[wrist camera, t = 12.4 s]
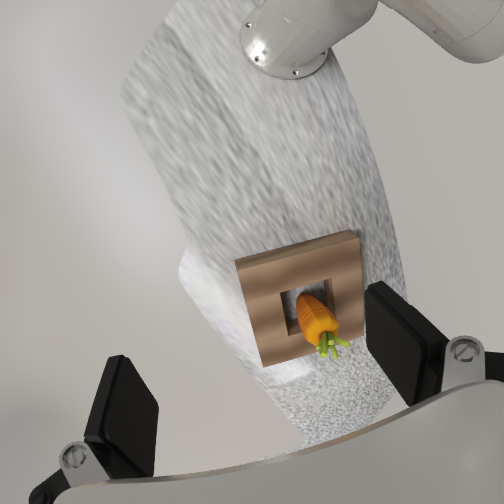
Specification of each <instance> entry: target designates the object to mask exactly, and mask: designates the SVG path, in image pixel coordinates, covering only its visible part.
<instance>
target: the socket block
mask: <svg viewBox="0 0 504 504" xmlns="http://www.w3.org/2000/svg"><path fill="white" fill-rule="evenodd" d="M234 261H235V265H236V269H237V272H238V276H239V280H240V284H241V287H242V291H243V295H244V299H245V302H246V306H247V310H248V314H249V317H250V321H251V325H252V328H253V332H254V336H255V339H256V343H257V347H258V350H259V354H260V357H261V361H262V364H263V368H264V367H267V366H271V365H274V364H278V363H282V362H285V361H288V360H292V359H295V358H298V357H302V356H305V355H308V354H311V353H314V352H318V351H320V350H316V348H317V347H316V346H315V345H313V344H311V343H310V342H308V341H307V340H306V339H305V337H304V335H303V333H302V330H301V328H300V325H299V323H298V318H297V319H293V320H290V321H287V322H285V317H284V312H283V307H282V302H281V297H280V293H281V292H284V291H288V290H291V289H295V288H298V287H302V286H305V285H309V284H312V283H316V282H319V281H322V280H324V285H325V293H326V302H327V308H328V309H329V310H330V312H331V313H332V314H333V315H334V316H335V318H336V319H337V320H338V322H339V328H338V335H337V336H336V337H338V338H340V339H342V340H344V341H350V340H353V339H355V338H358V337H361V336H364V307H363V283H362V267H361V253H360V241H359V237H357V236H356V235H354V234H353V233H351V232H350V231H348V230H346V231H342V232H338V233H335V234H331V235H327V236H323V237H319V238H316V239H312V240H308V241H304V242H301V243H297V244H293V245H289V246H285V247H282V248H278V249H274V250H270V251H266V252H263V253H259V254H255V255H251V256H247V257H243V258H240V259H236V260H234ZM333 344H334V346H336V345H338V344H339V343H337V342H336V341H334V343H333Z"/></svg>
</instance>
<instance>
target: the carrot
mask: <svg viewBox="0 0 504 504" xmlns="http://www.w3.org/2000/svg"><path fill="white" fill-rule="evenodd" d="M296 311H297V318H298V323H299V325H300V328H301V330H302V333H303V335H304V337H305V339H306V340H307V341H308V342H310V343H311V344H313V345H315V346H316V347H317V348H316V350H320V356H321V357H323V358H325V357H326V356H327V352H328V348H331V351H332V354H333V357H334V359H337V357H338V353H337V351H336V348H335V346H334V344H333V343H334V341H336V342H337V343H339V344H340V345H343V346H345V347H349V346H350V343H349V342H347V341H344V340H342V339H340V338H338V337H336V336H337V335H338V328H339V322H338V320H337V319H336V318H335V316H334V315H333V314H332V313H331V312H330V310H329V309H328V308H327V307H326V306H325V305H323V304H322V303H321V302H320V301H318V300H317V299H316V298H314V297H313V296H312V295H309V294H300V295H299V296H298V298H297V302H296Z"/></svg>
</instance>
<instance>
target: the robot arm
mask: <svg viewBox="0 0 504 504" xmlns="http://www.w3.org/2000/svg"><path fill="white" fill-rule="evenodd" d="M378 1H380V2H382V3H383V4H385V5H386V6H388V7H389V8H391V9H394V10H395V11H396V12H398V13H399V14H400V15H402V16H403V17H405V18H406V19H407V20H409V21H410V22H411V23H413V24H414V25H415V26H417V27H418V28H419V29H420V30H422V31H423V32H424V33H426V34H427V35H428V36H429V37H430V38H431V39H433V40H434V41H435V42H436V43H437V44H438V45H440V46H441V47H442V48H444V49H445V50H446V51H447V52H448V53H450V54H451V55H453V56H454V57H456V58H458V59H460V60H462V61H465V62H468V63H485V62H489V61H491V60H494V59H497V58H499V57H500V56H502V55H504V0H264V2H263V4H262V6H260V7H258V8H256V9H255V10H253V11H252V12H251V13H250V14H249V15H248V16H247V17H246V19H245V20H244V22H243V25H242V27H241V32H240V43H241V47H242V50H243V52H244V54H245V56H246V57H247V58H248V60H249V61H250V62H251V63H252V64H253V65H254V66H255V67H256V68H257V69H259V70H261V71H262V72H264V73H266V74H268V75H270V76H273V77H277V78H281V79H298V78H301V77H305V76H307V75H309V74H311V73H313V72H314V71H316V70H317V69H318V68H319V67H320V66H321V65H322V64H323V63H324V61H325V60H326V57H327V55H328V49H329V48H330V47H331V46H333V45H334V44H336V43H337V42H338V41H340V40H341V39H343V38H344V37H346V36H347V35H349V34H351V33H352V32H354V31H355V30H357V29H358V28H360V27H361V26H363V25H364V24H365V23H367V22H368V21H369V20H370V19H371V17H372V16H373V15H374V13H375V10H376V8H377V4H378ZM246 26H249V28H248V27H246ZM321 53H322V55H321ZM255 59H257V60H258V61H257V62H256V61H255ZM293 72H294V73H295V75H294V74H293ZM364 298H365V317H366V344H367V347H368V350H369V351H370V353H371V354H372V356H373V357H374V358H375V360H376V361H377V363H378V364H379V365H380V367H381V368H382V370H383V371H384V372H385V374H386V375H387V377H388V378H389V379H390V381H391V382H392V384H393V385H394V387H395V388H396V389H397V391H398V392H399V394H400V395H401V397H402V398H403V399H404V401H405V402H406V404H407V405H408V406H409V407H410V408H407V409H405V410H403V411H401V412H399V413H397V414H394V415H392V416H390V417H388V418H386V419H383V420H381V421H379V422H376V423H374V424H372V425H369V426H367V427H365V428H362V429H360V430H357V431H355V432H352V433H349V434H347V435H344V436H341V437H339V438H336V439H333V440H330V441H327V442H324V443H321V444H318V445H315V446H312V447H309V448H306V449H303V450H299V451H296V452H292V453H289V454H285V455H282V456H278V457H274V458H270V459H266V460H262V461H258V462H253V463H249V464H244V465H239V466H234V467H228V468H224V469H217V470H211V471H205V472H197V473H189V474H181V475H171V476H161V477H160V476H159V477H153V475H154V462H155V445H156V434H157V423H158V413H159V407H158V403H157V401H156V400H155V398H154V397H153V395H152V394H151V392H150V391H149V389H148V388H147V386H146V384H145V383H144V381H143V380H142V378H141V377H140V375H139V373H138V372H137V370H136V369H135V367H134V365H133V364H132V362H131V360H130V359H129V358H128V357H125V356H124V355H117V356H112V357H109V358H108V360H107V363H106V366H105V369H104V372H103V375H102V378H101V381H100V384H99V387H98V390H97V393H96V396H95V399H94V402H93V406H92V409H91V412H90V416H89V419H88V423H87V426H86V429H85V433H84V437H85V439H84V442H82V441H75V442H72V443H70V444H68V445H67V446H66V447H65V448H64V449H63V450H62V452H61V454H60V457H59V462H60V466H61V469H59V470H58V471H57V472H55V473H54V474H53V475H52V476H50V477H49V478H48V479H46V480H45V481H44V482H42V483H41V484H40V485H38V486H37V487H36V488H35V489H34V490H33V491H32V492H31V494H30V497H29V504H504V353H497V352H485V351H484V347H483V345H482V343H481V342H480V341H479V340H477V339H476V338H474V337H471V336H459V337H455V338H453V339H452V340H449V339H448V338H446V336H445V335H443V334H442V333H441V332H440V331H439V330H438V329H437V328H436V327H435V326H434V325H433V324H432V323H431V322H430V321H429V320H428V319H426V318H425V317H424V316H423V315H422V314H421V313H420V312H419V311H418V310H417V309H415V308H414V307H413V306H412V305H409V304H408V303H407V302H406V301H405V300H404V299H403V298H402V297H400V296H399V295H398V294H397V293H396V292H395V291H394V290H393V289H391V288H390V287H389V286H388V285H387V284H386V283H385V282H383V281H379V282H376V283H373V284H370V285H369V286H368V288H367V290H365V292H364Z"/></svg>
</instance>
